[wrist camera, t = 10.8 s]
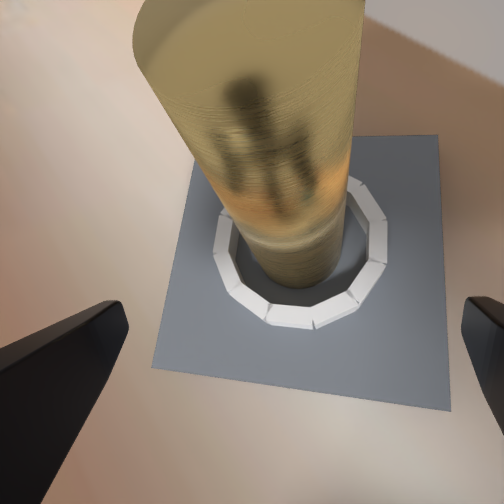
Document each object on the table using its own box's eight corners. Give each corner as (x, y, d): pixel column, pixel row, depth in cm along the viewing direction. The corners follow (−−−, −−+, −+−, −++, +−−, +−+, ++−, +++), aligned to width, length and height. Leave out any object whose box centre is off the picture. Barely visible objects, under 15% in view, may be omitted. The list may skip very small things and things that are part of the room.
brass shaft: (313, 305, 17) (276, 140, 5) (242, 262, 19) (90, 60, 7) (356, 233, 18) (413, -52, 6) (285, 198, 20) (217, -84, 8)
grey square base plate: (442, 409, 16) (464, 415, 13) (161, 368, 19) (136, 367, 16) (431, 148, 20) (446, 115, 18) (205, 151, 23) (190, 124, 21)
